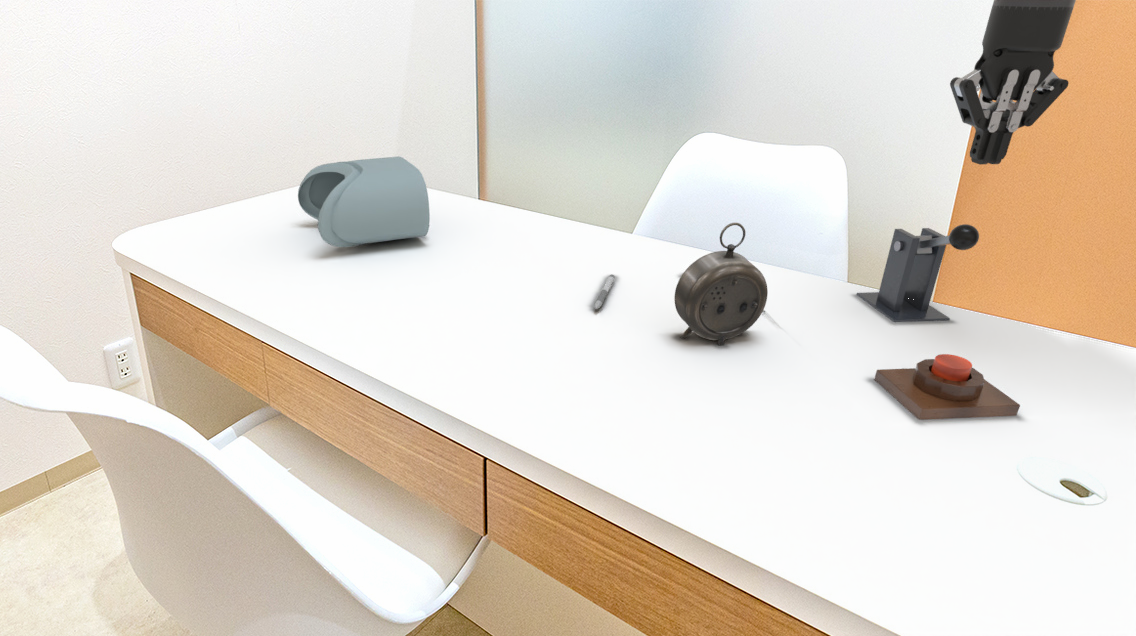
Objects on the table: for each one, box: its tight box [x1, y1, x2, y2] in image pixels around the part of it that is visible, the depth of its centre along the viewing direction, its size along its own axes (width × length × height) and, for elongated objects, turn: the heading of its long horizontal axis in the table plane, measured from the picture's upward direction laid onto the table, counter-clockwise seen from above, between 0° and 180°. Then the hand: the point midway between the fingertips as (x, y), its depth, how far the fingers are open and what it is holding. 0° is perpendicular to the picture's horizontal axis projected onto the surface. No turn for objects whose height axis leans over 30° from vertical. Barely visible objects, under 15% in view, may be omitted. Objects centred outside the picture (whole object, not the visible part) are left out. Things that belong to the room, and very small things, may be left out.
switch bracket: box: [856, 227, 951, 323], centre depth 105 cm, size 10×8×12 cm
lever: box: [915, 223, 980, 255], centre depth 98 cm, size 12×3×3 cm, turn 5°
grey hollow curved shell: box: [297, 156, 431, 248], centre depth 134 cm, size 22×19×13 cm
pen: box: [594, 274, 615, 310], centre depth 112 cm, size 1×14×1 cm, turn 162°
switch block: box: [873, 358, 1021, 421], centre depth 83 cm, size 11×9×4 cm
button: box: [931, 353, 973, 382], centre depth 82 cm, size 4×4×2 cm
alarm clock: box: [674, 222, 768, 347], centre depth 94 cm, size 11×5×16 cm, turn 100°
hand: (985, 162), depth 90 cm, fingers closed
